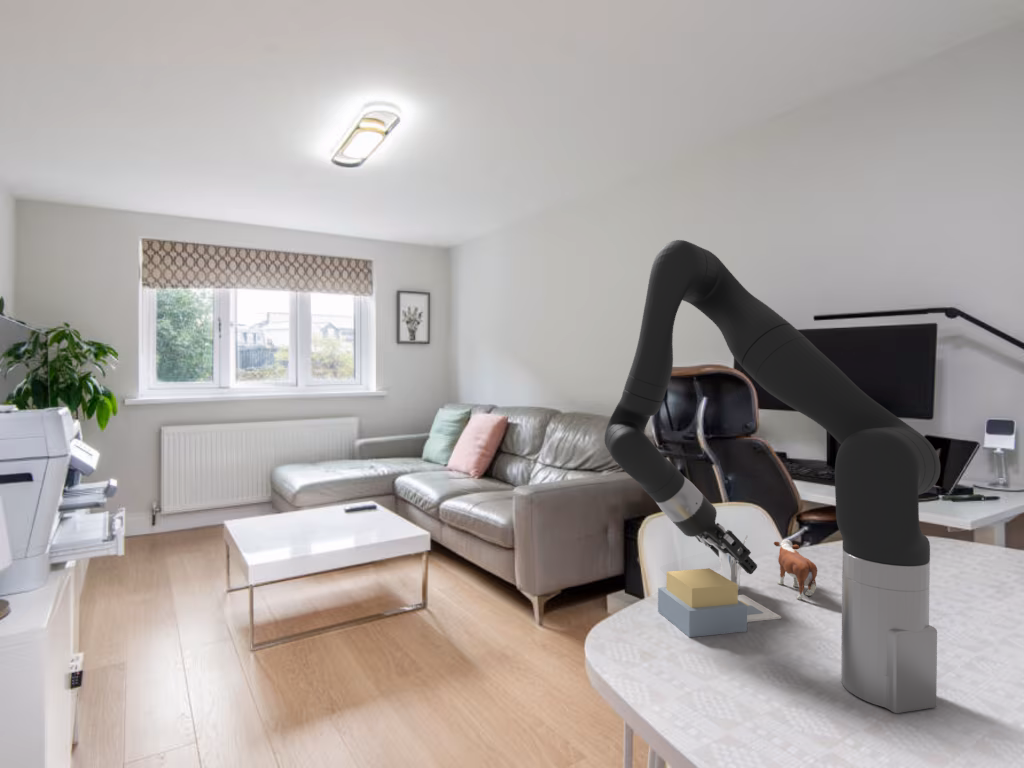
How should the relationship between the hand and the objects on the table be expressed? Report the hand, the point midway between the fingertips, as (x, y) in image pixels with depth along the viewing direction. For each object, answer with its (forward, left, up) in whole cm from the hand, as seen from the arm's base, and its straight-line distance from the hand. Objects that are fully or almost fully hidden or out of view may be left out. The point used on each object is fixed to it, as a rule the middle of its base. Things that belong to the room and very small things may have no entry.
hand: (739, 562), depth 108 cm
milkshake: (0, +1, -5) cm, 5 cm away
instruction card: (-9, +5, -5) cm, 11 cm away
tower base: (-12, +15, -5) cm, 20 cm away
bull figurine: (-3, -10, -5) cm, 11 cm away
